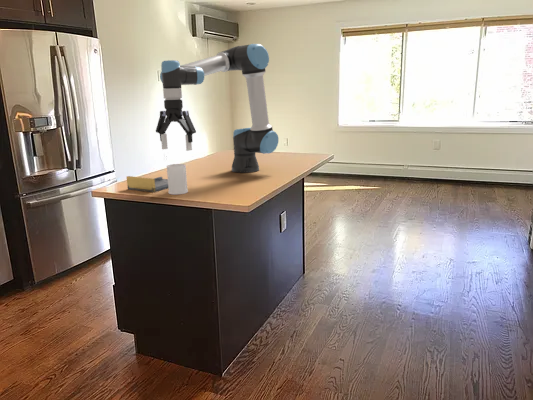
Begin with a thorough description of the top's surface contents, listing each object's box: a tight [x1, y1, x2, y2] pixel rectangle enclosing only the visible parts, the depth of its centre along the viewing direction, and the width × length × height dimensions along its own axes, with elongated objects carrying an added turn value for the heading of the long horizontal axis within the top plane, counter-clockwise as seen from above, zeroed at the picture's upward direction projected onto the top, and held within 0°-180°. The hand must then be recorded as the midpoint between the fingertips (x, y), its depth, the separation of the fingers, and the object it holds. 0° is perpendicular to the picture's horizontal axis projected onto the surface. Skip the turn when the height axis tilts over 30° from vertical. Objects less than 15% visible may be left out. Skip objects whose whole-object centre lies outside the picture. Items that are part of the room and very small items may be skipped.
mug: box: [166, 163, 189, 196], centre depth 189 cm, size 12×8×12 cm
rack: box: [126, 175, 168, 193], centre depth 203 cm, size 16×22×6 cm
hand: (176, 149), depth 186 cm, fingers open, 13 cm apart
